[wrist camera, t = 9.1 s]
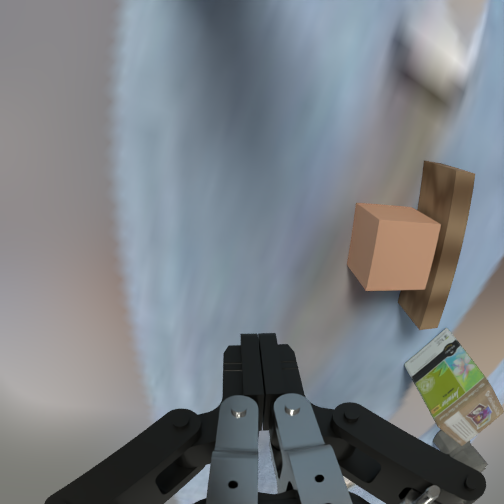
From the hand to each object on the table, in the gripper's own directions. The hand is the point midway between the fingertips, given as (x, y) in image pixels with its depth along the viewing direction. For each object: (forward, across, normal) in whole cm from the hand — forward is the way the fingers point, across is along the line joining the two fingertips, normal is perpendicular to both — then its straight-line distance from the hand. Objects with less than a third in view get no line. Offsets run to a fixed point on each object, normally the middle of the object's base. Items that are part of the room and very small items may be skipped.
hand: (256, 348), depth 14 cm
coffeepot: (+23, -50, +54) cm, 77 cm away
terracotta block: (+24, -17, +4) cm, 30 cm away
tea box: (+24, -36, +28) cm, 51 cm away
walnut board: (+24, -24, +4) cm, 34 cm away
